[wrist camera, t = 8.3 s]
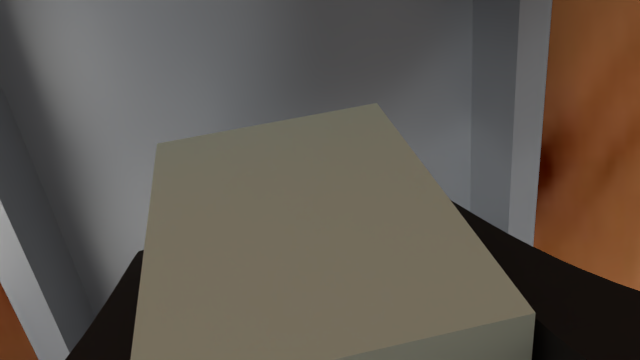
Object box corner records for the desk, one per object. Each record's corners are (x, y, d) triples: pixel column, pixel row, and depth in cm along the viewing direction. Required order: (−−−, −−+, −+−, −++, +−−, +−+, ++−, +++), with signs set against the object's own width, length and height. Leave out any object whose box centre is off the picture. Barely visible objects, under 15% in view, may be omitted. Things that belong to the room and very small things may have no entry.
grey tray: (91, 354, 20) (75, 434, 17) (-103, -100, 13) (-182, -89, 10) (483, 268, 21) (526, 329, 19) (495, -180, 15) (566, -189, 12)
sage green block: (205, 314, 14) (214, 623, 8) (157, 143, 12) (124, 408, 6) (389, 274, 14) (516, 540, 9) (376, 103, 12) (534, 313, 7)
